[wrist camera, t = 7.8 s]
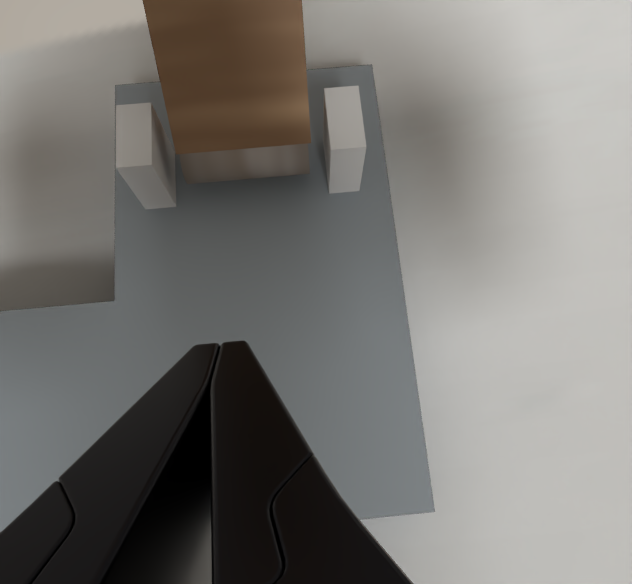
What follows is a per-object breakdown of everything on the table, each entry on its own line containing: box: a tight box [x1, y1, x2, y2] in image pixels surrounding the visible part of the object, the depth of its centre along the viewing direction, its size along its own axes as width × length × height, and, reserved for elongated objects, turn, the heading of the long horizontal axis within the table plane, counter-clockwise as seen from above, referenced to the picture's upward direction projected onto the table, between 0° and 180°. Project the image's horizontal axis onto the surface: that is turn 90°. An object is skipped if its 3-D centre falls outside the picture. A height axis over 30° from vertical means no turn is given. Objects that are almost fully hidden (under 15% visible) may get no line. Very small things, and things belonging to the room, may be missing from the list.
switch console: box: [0, 65, 435, 532], centre depth 17 cm, size 15×23×5 cm, turn 95°
